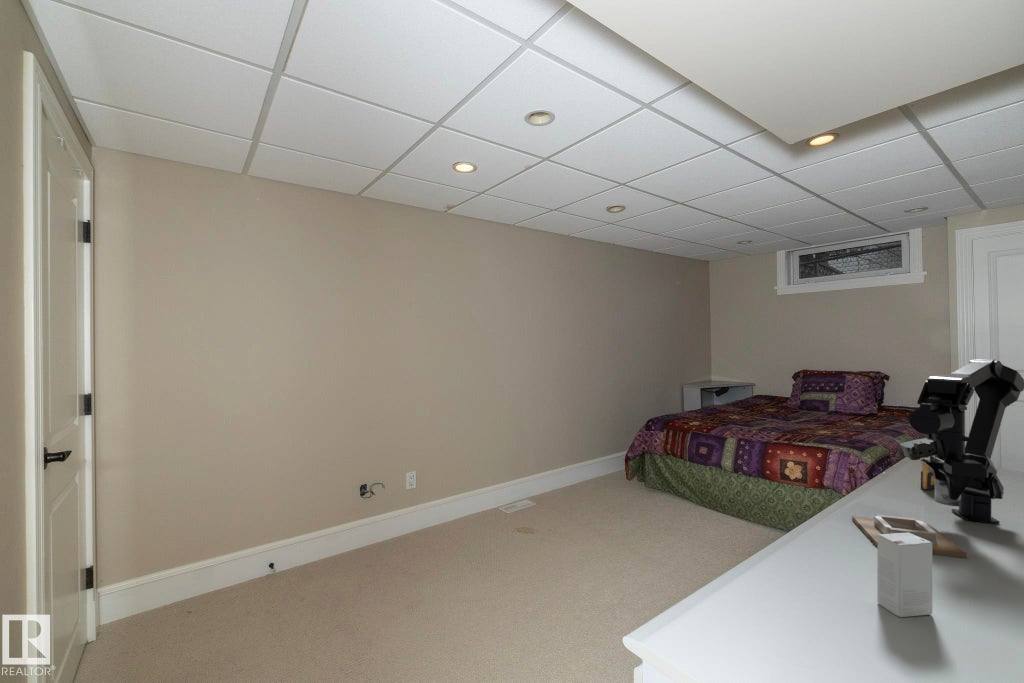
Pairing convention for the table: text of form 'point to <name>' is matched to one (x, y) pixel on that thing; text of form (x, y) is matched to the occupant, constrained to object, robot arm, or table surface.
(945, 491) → the cylinder
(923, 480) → the ammunition clip
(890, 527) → the wooden board with frame
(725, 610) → the table surface
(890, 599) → the skincare box
